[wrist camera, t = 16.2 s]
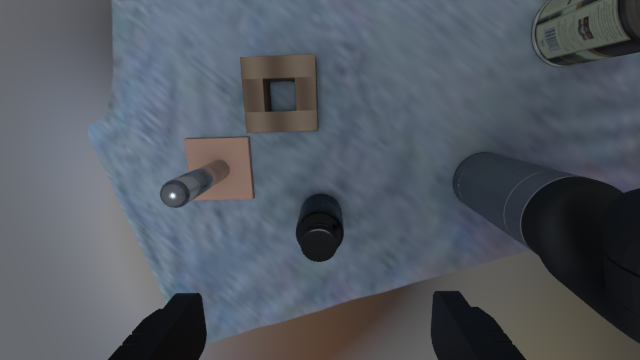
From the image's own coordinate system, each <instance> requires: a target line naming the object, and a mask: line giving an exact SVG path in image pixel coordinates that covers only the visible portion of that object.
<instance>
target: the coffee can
mask: <svg viewBox="0 0 640 360" xmlns="http://www.w3.org/2000/svg"><path fill="white" fill-rule="evenodd" d="M531 36H532V43H533V47H534V49H535V51H536V53H537V55H538V56H539V57H540V58H541V59H542V60H543V61H544V62H546V63H548V64H550V65H552V66H557V67H568V66H572V65H575V64H580V63H585V62H590V61H595V60H600V59H605V58H611V57H616V56H622V55H627V54H632V53H638V52H640V0H548V1H547V2H546V3H545V4H544V5H543V6H542V7H541V9H540V11H539V12H538V14H537V16H536V18H535V20H534V23H533V27H532V35H531Z"/></svg>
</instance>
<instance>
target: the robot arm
mask: <svg viewBox="0 0 640 360" xmlns="http://www.w3.org/2000/svg"><path fill="white" fill-rule="evenodd" d="M453 186H454V191H455V194H456V195H457V197H458V198H459V200H460V201H461V202H463V203H464V204H465V205H467V206H468V207H470V208H471V209H472V210H474V211H475V212H477V213H478V214H479V215H481V216H482V217H484V218H485V219H487V220H488V221H489V222H491V223H492V224H494V225H495V226H497V227H498V228H500V229H501V230H502V231H504V232H505V233H507V234H508V235H510V236H511V237H513V238H514V239H515V240H517V241H518V242H520V243H521V244H523V245H524V246H526V247H527V248H529V249H530V250H532V251H533V252H534V253H536V254H537V255H539V257H540V258H541V260H542V262H543V264H544V265H545V267H546V268H547V269H548V271H549V272H550V273H551V274H552V275H553V276H554V277H555V278H556V279H557V280H558V281H560V282H561V283H562V284H563V285H565V286H566V287H567V288H568V289H569V290H571V291H572V292H573V293H574V294H575V295H577V296H578V297H579V298H580V299H581V300H583V301H584V302H585V303H586V304H588V305H589V306H590V307H591V308H592V309H594V310H595V311H596V312H597V313H598V314H600V315H601V316H602V317H603V318H605V319H606V320H607V321H608V322H610V323H611V324H612V325H614V326H615V327H616V328H618V329H619V330H620V331H622V332H623V333H624V334H626V335H627V336H629V337H630V338H632V339H633V340H635V341H636V342H638V343H640V189H635V190H631V191H628V192H625V193H623V192H621V191H620V190H619V189H617V188H615V187H613V186H611V185H609V184H607V183H604V182H601V181H597V180H594V179H590V178H586V177H582V176H578V175H574V174H570V173H567V172H563V171H558V170H555V169H551V168H547V167H543V166H540V165H536V164H532V163H528V162H525V161H521V160H517V159H513V158H510V157H506V156H502V155H499V154H495V153H490V152H482V153H477V154H474V155H472V156H470V157H469V158H467V159H466V160H464V161H463V162H462V163H461V164H460V166H459V167H458V169H457V171H456V173H455V175H454V180H453ZM432 305H433V306H432V319H431V339H432V344H433V348H434V351H435V353H436V355H437V358H438V360H526V359H525V358H524V356H523V355H522V354H521V353H520V351H519V350H518V349H517V347H516V346H515V345H513V344H512V341H511V340H510V339H509V337H508V336H507V335H506V334H505V333H504V332H503V330H502V329H501V327H500V326H499V325H498V324H497V322H496V321H495V320H494V318H493V317H491V316H490V315H489V314H487V313H486V312H484V311H483V310H481V309H480V308H479V307H470V305H469V304H468V302H467V301H466V300H465V298H464V297H463V296H462V294H461V293H460V292H459V291H435V292H434V294H433V304H432ZM206 336H207V331H206V323H205V316H204V309H203V302H202V297H201V295H200V294H199V293H177V294H175V295H174V296H173V297H172V298H171V300H170V301H169V302H168V303H167V304H166V306H165V307H164V308H163V309H158V310H156V311H155V312H153V313H152V314H151V315H149V316H148V317H146V318H145V319H143V320H142V322H141V323H140V324H139V325H138V326H137V327H136V328H135V329H134V331H133V332H132V335H129V336H128V337H127V338H126V340H125V341H124V342H123V344H122V346H120V347H119V348H118V349H117V350H116V351H115V352H114V353H113V354H112V356H111V357H110V358H109V359H108V360H199V358H200V356H201V354H202V352H203V350H204V347H205V343H206Z"/></svg>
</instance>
